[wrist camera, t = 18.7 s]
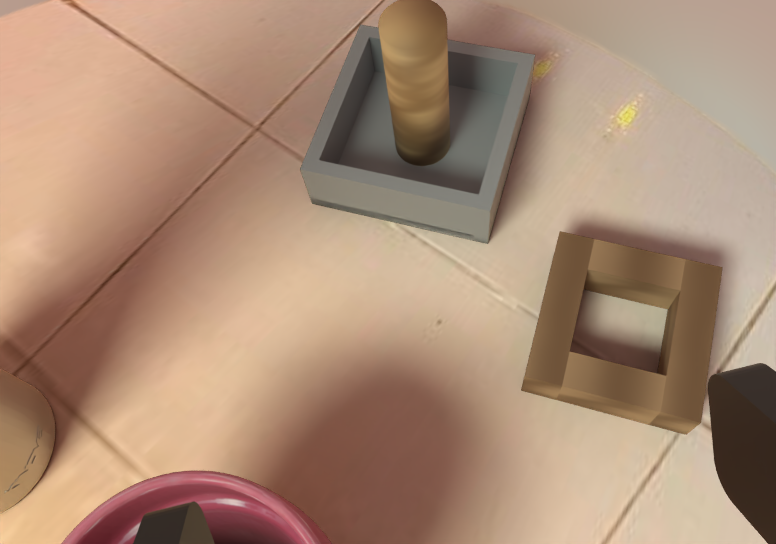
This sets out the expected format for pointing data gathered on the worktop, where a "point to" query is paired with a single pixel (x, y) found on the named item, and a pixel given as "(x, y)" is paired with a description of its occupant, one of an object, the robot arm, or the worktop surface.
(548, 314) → the socket block
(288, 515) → the plant pot
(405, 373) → the worktop surface
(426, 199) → the tray
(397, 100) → the dowel
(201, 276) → the worktop surface
